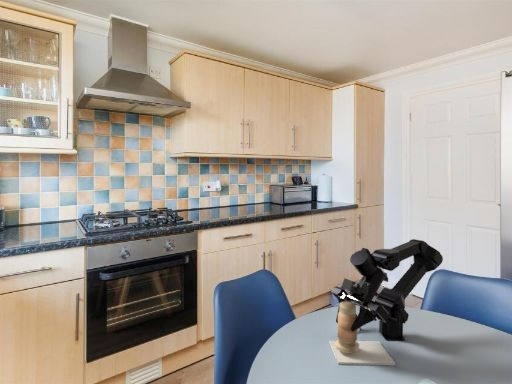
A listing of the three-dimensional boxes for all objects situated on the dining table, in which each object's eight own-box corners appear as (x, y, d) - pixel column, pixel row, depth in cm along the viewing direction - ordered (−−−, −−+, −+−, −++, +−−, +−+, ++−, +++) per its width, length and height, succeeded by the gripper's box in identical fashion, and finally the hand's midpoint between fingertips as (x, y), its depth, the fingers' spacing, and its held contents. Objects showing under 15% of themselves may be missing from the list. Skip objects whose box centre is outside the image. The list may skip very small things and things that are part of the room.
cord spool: (348, 339, 99) (349, 299, 99) (363, 350, 93) (364, 307, 92) (331, 343, 97) (331, 302, 96) (345, 355, 90) (345, 310, 90)
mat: (379, 343, 100) (379, 341, 100) (394, 365, 88) (395, 363, 88) (329, 342, 101) (329, 340, 101) (338, 364, 89) (338, 362, 89)
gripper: (335, 262, 104) (309, 301, 99) (383, 277, 88) (355, 324, 83) (351, 281, 108) (327, 320, 103) (400, 299, 92) (374, 346, 87)
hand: (344, 326), depth 94 cm, fingers closed on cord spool, 5 cm apart
